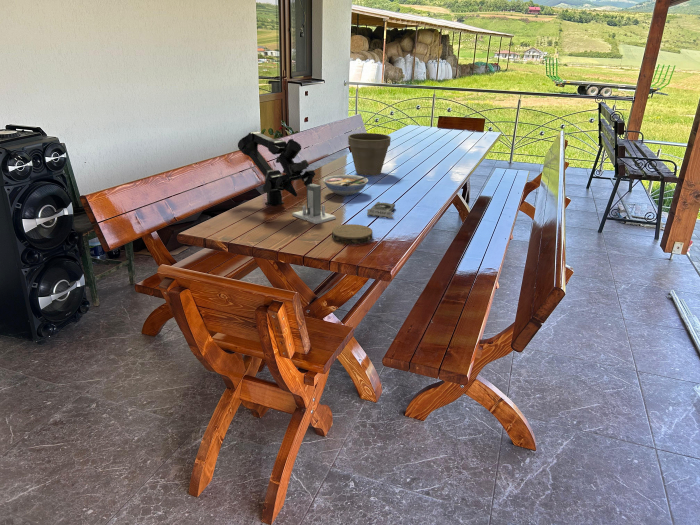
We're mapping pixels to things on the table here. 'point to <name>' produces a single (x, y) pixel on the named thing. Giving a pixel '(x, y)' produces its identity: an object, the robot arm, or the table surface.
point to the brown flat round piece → (352, 234)
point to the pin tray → (311, 218)
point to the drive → (314, 199)
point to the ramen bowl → (345, 184)
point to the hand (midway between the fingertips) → (304, 194)
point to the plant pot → (368, 152)
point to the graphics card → (381, 210)
